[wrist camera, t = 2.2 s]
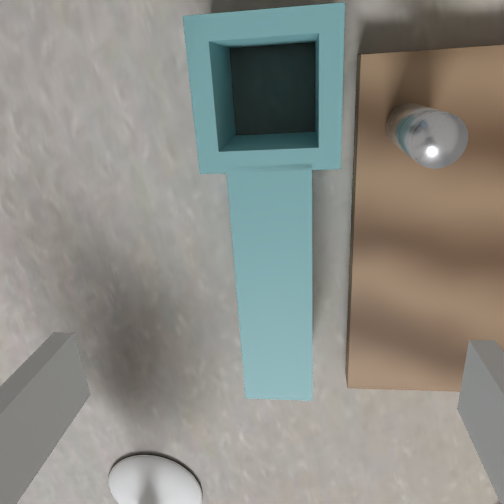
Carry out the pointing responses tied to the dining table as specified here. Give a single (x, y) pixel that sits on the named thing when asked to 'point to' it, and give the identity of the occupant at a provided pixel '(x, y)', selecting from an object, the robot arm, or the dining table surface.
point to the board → (425, 223)
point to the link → (269, 184)
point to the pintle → (427, 134)
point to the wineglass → (153, 482)
